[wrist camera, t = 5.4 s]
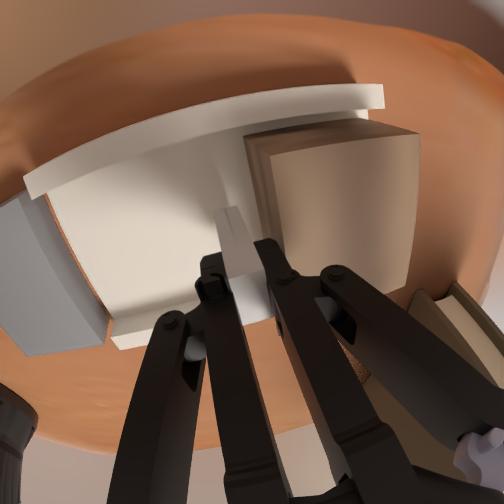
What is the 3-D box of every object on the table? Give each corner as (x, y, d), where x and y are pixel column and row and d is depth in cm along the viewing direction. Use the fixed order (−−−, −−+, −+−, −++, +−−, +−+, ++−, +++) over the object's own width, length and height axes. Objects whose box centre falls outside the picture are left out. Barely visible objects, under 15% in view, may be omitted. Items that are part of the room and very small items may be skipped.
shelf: (124, 324, 22) (120, 350, 20) (43, 163, 14) (22, 176, 11) (362, 258, 24) (379, 277, 21) (356, 83, 16) (382, 84, 13)
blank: (269, 269, 21) (295, 326, 16) (242, 135, 15) (269, 155, 10) (362, 241, 22) (405, 285, 17) (358, 117, 16) (419, 133, 11)
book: (397, 374, 42) (460, 492, 19) (356, 387, 40) (418, 522, 17) (456, 281, 31) (563, 426, 8) (416, 289, 29) (537, 473, 6)
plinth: (35, 334, 21) (27, 356, 18) (-33, 226, 14) (-50, 243, 11) (109, 318, 22) (104, 344, 19) (38, 181, 14) (17, 197, 12)
